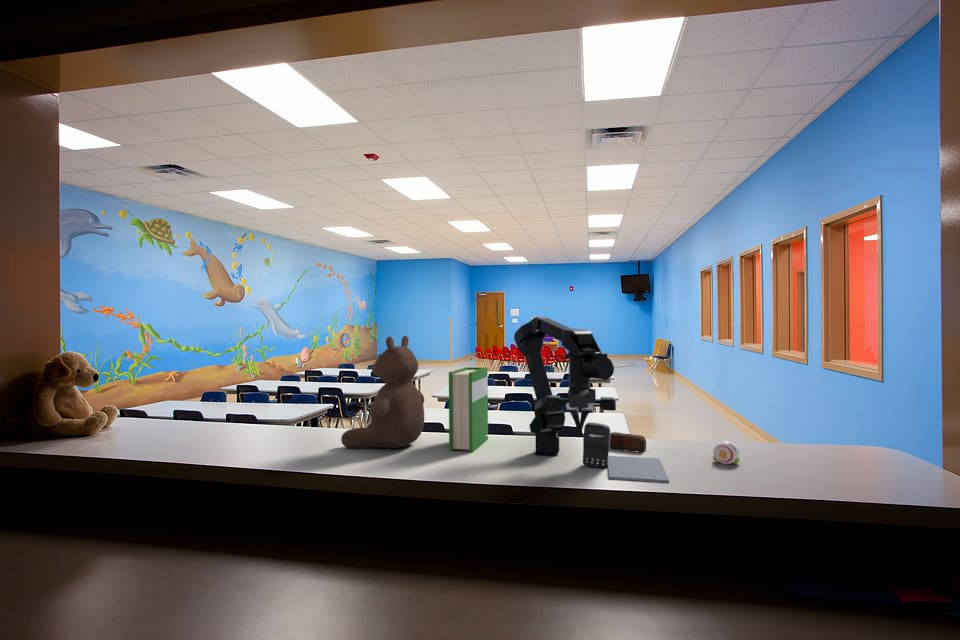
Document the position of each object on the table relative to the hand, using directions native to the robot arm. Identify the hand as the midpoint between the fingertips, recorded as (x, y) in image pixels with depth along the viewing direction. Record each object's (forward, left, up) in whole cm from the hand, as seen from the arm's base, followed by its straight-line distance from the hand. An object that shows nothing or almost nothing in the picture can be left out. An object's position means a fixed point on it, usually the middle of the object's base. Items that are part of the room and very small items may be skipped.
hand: (579, 434), depth 134 cm
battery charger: (+4, 0, -9) cm, 9 cm away
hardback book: (-35, +17, -9) cm, 40 cm away
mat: (+14, 0, -9) cm, 17 cm away
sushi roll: (+39, +11, -9) cm, 41 cm away
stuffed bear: (-62, +12, -9) cm, 63 cm away
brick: (+13, +21, -9) cm, 27 cm away
